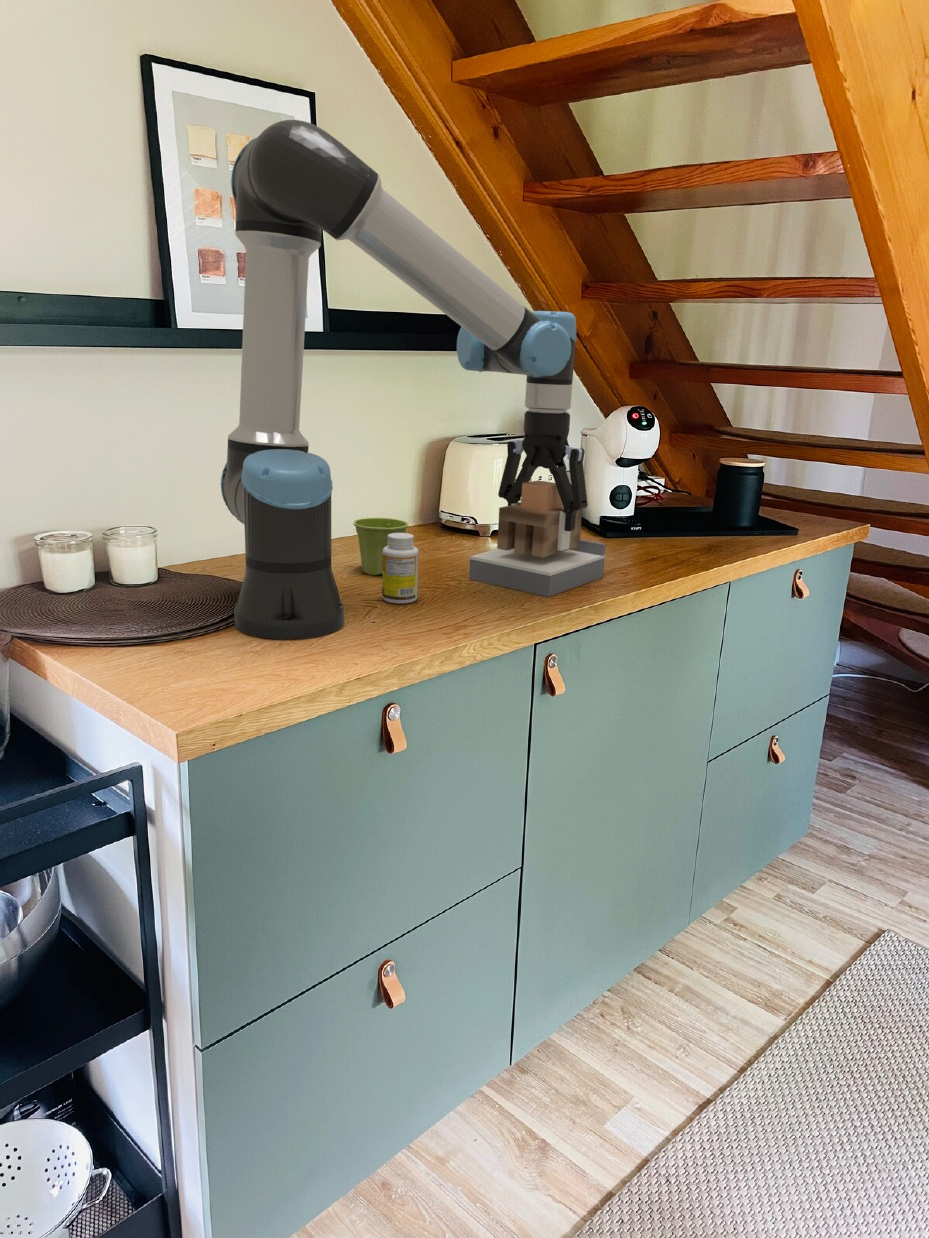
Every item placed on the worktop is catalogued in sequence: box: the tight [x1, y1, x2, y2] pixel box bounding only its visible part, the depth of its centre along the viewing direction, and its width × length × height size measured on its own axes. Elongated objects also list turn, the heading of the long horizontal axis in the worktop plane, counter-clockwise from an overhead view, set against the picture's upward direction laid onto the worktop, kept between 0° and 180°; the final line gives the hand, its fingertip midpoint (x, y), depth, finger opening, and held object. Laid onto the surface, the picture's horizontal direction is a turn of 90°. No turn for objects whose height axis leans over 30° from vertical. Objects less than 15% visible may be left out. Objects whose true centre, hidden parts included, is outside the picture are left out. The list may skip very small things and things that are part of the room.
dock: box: [468, 538, 607, 598], centre depth 157 cm, size 18×16×6 cm
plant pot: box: [352, 517, 410, 576], centre depth 157 cm, size 9×9×9 cm
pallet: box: [496, 503, 583, 558], centre depth 156 cm, size 12×9×7 cm
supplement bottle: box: [381, 532, 420, 605], centre depth 141 cm, size 6×6×10 cm
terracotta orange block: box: [520, 479, 562, 511], centre depth 154 cm, size 5×5×4 cm
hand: (538, 544), depth 157 cm, fingers closed on pallet, 9 cm apart
